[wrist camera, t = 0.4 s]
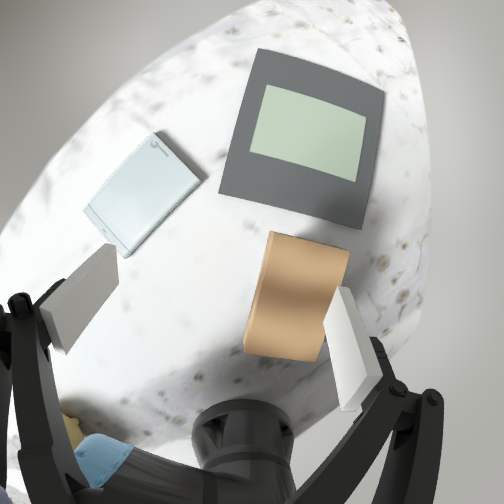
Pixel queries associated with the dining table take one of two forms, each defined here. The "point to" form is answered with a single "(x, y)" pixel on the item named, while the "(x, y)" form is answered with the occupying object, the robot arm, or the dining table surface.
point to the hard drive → (140, 194)
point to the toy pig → (73, 431)
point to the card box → (293, 297)
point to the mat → (304, 140)
